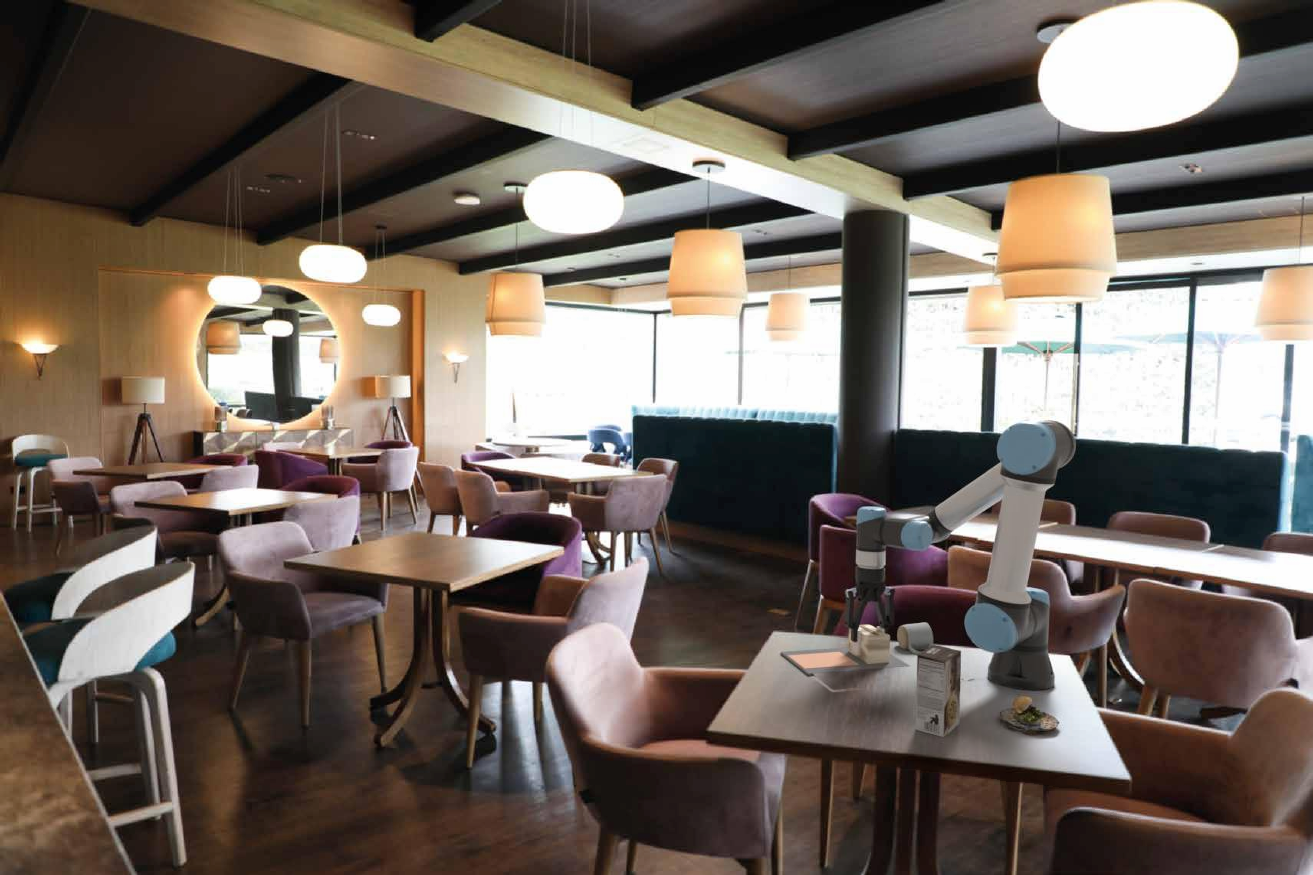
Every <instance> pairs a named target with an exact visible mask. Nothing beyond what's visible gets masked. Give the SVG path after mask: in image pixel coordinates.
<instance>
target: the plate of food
mask: <svg viewBox="0 0 1313 875" xmlns="http://www.w3.org/2000/svg"><path fill="white" fill-rule="evenodd" d="M1016 693H1017V694H1019V693H1018V689H1016ZM1032 701H1033V699H1032V697H1029V696H1018V697H1017V698H1016V699H1015V700H1014V702H1013V704H1012V707H1011V708H1006V709H1003V710H1001V711H1000V712H999V717H1000V718H999V719H998V721H999V724H1000V725H1001V726H1002V727H1004V728H1005V729H1007V730H1010V731H1012V732H1015V733H1019V734H1023V735H1024V734H1025V735H1028V736H1032V737H1033V736H1035V735H1036V734H1037V732H1046V731H1050V730H1053V729H1055V728H1057V727H1059V725H1060V721H1059V720H1058V719H1057V718H1056V717H1055V716H1053V715H1052V714H1049V713H1047V712H1046V711H1041V710H1040V709H1038V708H1037V706H1035V705H1033V704H1032Z"/></svg>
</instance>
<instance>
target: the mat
mask: <svg viewBox="0 0 1313 875" xmlns="http://www.w3.org/2000/svg"><path fill="white" fill-rule="evenodd" d="M848 650H849V646H848V647H833V648H832V647H831V648H818V649H817V648H816V649H807V650H806V649H804V650H803V649H802V650H788V651H781V652H780V655H781V656H782V657H784V658H785V659H786V660H788V662H790V663H791V664H793V665H794V666H795V667H796V668H798V669H799V670H800V671H802V672H803V673H804V674H805V675H807V676H808V677H814V676H816V675H815V674H823V673H836V672H849V671H850V672H851V671H864V670H875V669H889V668H890V669H891V668H903V667H910V666H911V665H909V664H908V663H906V662H904V661H903V660H901V659H899V658H898V657H896V656H894V655H893V654H891V653H890V658H889V663H876V664H867V663H866V662H864V661H863V660H861V659H860V658H858V657H856V656H855V655H853V654H852V653H850V652H849V651H848Z"/></svg>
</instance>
